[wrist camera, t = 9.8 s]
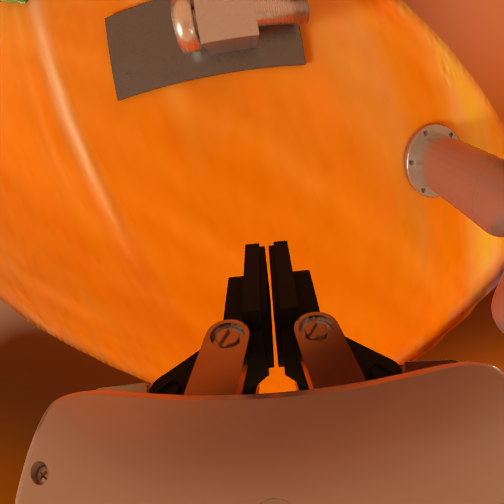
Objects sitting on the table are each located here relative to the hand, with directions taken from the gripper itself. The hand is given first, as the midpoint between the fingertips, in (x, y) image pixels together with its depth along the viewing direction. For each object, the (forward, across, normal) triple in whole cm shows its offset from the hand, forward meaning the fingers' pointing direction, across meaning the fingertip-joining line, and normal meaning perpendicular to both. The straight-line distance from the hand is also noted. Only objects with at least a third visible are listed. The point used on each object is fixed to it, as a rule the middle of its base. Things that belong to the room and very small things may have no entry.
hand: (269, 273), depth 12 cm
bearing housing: (+30, +6, -18) cm, 36 cm away
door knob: (+29, 0, -18) cm, 34 cm away
